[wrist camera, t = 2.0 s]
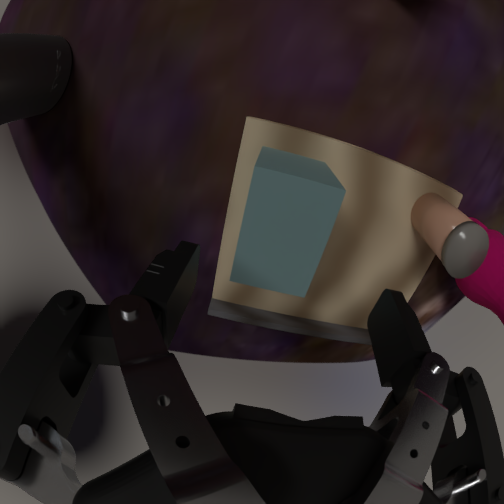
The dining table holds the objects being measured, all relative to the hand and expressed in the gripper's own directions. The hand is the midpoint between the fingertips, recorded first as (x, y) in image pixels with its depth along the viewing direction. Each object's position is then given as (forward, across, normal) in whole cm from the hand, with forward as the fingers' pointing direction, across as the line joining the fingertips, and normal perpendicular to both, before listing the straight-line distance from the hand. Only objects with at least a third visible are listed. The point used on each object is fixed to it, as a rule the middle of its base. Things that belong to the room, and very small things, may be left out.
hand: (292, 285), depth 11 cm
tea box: (+11, 0, 0) cm, 11 cm away
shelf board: (+13, -6, +4) cm, 15 cm away
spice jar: (+12, -13, -2) cm, 17 cm away
